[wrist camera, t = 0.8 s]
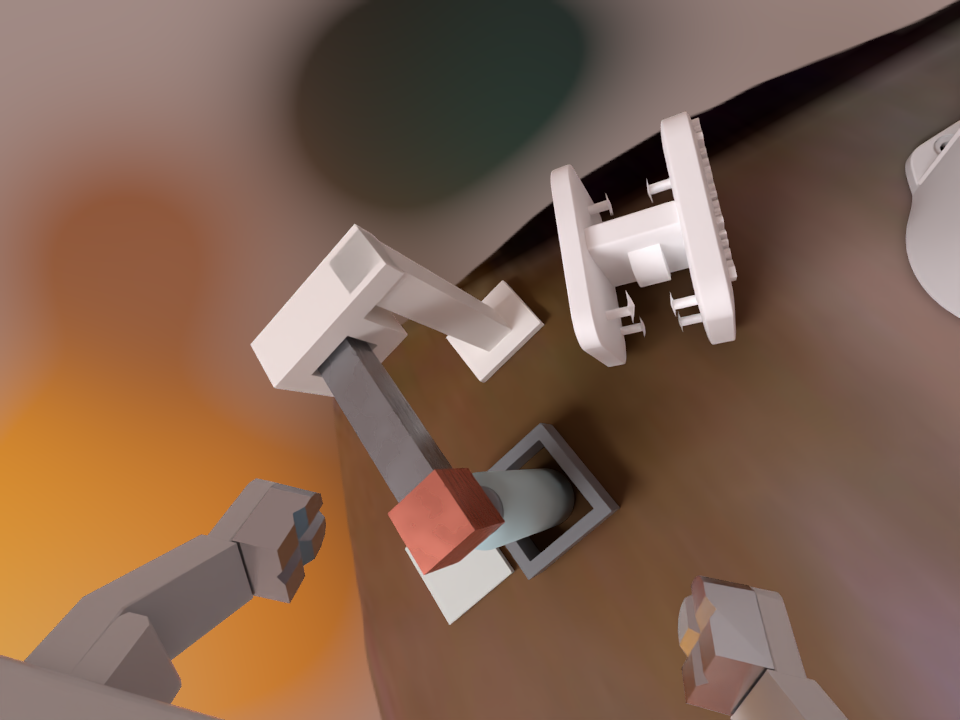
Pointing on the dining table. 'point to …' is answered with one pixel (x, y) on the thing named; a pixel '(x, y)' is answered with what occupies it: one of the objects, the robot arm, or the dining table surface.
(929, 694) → the dining table surface
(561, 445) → the socket collar
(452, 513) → the bolt
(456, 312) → the stand
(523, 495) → the pale blue bottle
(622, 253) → the cable organizer
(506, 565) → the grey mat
